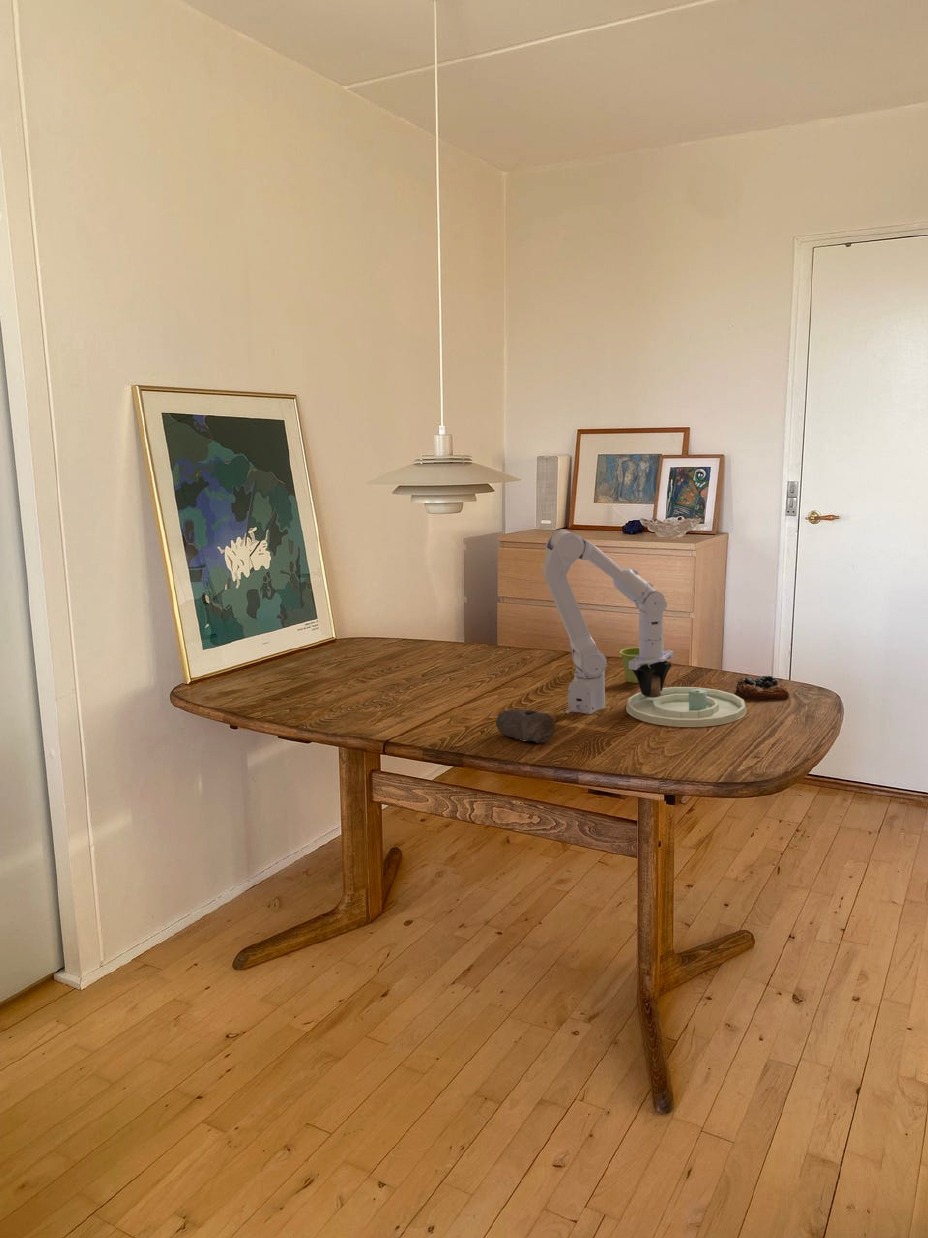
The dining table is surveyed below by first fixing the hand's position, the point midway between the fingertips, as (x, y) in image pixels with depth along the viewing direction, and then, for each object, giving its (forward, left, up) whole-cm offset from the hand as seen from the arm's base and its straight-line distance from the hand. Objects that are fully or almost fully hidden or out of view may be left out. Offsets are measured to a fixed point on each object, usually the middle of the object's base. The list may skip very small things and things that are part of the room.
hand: (651, 692), depth 228 cm
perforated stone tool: (-37, +14, -3) cm, 39 cm away
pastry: (+17, -21, -3) cm, 27 cm away
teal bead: (-3, -13, -2) cm, 13 cm away
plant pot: (+16, +11, -3) cm, 20 cm away
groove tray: (-3, -10, -3) cm, 10 cm away
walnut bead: (0, 0, -1) cm, 1 cm away
